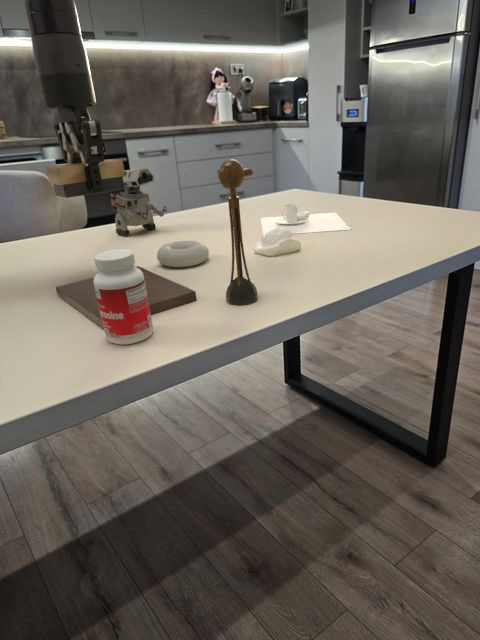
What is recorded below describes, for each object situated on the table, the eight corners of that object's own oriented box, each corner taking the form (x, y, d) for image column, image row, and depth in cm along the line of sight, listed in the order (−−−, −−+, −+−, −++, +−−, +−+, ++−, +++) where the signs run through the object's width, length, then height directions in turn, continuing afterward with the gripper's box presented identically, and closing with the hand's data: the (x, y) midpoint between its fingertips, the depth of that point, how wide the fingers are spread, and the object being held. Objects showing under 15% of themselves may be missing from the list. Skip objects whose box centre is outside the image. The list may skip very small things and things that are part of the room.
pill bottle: (97, 338, 63) (77, 257, 58) (135, 322, 67) (119, 245, 62) (125, 350, 60) (106, 264, 55) (163, 332, 64) (149, 251, 59)
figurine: (138, 240, 112) (126, 172, 105) (113, 234, 119) (100, 170, 113) (170, 232, 118) (161, 167, 111) (144, 226, 125) (133, 165, 118)
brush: (63, 198, 75) (55, 168, 73) (52, 196, 79) (45, 166, 77) (127, 188, 81) (122, 160, 79) (115, 186, 85) (110, 159, 83)
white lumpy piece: (292, 235, 89) (244, 233, 92) (293, 258, 91) (246, 256, 94) (306, 222, 97) (261, 222, 100) (306, 244, 99) (262, 243, 102)
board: (104, 329, 66) (101, 319, 65) (57, 295, 80) (55, 286, 79) (196, 300, 74) (195, 291, 73) (139, 273, 88) (138, 265, 87)
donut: (213, 254, 97) (164, 255, 98) (211, 237, 96) (162, 239, 97) (205, 269, 88) (152, 270, 89) (203, 251, 87) (149, 252, 88)
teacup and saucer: (308, 217, 123) (308, 201, 121) (312, 224, 115) (312, 207, 114) (274, 220, 122) (273, 203, 121) (276, 227, 115) (275, 209, 114)
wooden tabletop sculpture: (248, 290, 77) (238, 155, 68) (268, 296, 74) (261, 156, 64) (220, 300, 73) (205, 160, 64) (240, 307, 70) (227, 161, 61)
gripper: (107, 67, 69) (129, 190, 77) (72, 76, 79) (94, 184, 87) (55, 67, 65) (84, 197, 72) (24, 77, 75) (53, 190, 83)
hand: (89, 189), depth 80 cm, fingers closed on brush, 5 cm apart
